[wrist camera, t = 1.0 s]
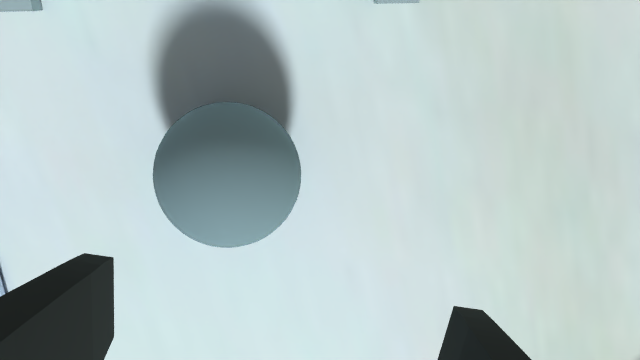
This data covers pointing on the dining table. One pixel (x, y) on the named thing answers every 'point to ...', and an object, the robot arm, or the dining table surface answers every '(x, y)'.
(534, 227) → the dining table surface
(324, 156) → the dining table surface
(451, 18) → the dining table surface
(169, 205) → the ball
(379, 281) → the dining table surface
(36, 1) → the grey bar
